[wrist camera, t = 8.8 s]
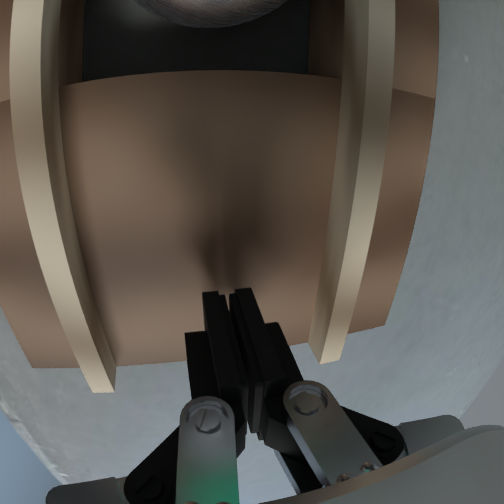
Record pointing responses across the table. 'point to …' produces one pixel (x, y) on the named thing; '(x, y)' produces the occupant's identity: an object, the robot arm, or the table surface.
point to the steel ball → (209, 11)
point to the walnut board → (208, 186)
